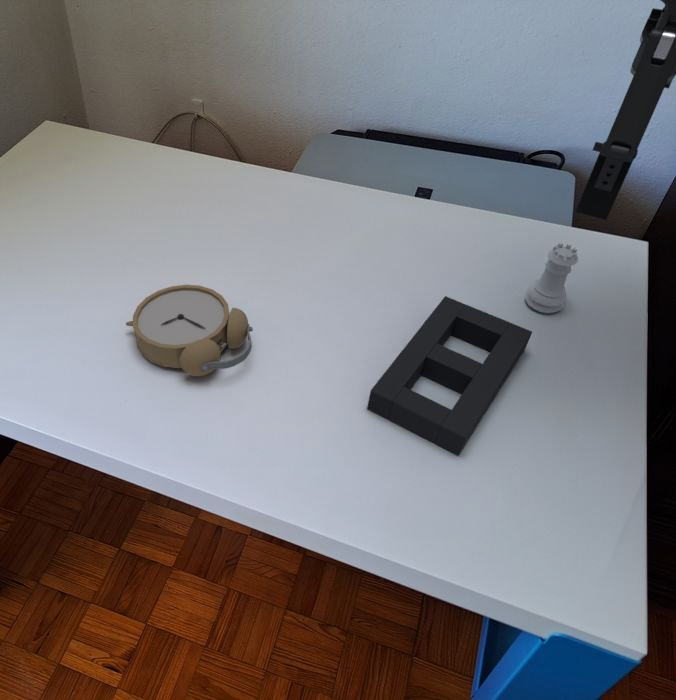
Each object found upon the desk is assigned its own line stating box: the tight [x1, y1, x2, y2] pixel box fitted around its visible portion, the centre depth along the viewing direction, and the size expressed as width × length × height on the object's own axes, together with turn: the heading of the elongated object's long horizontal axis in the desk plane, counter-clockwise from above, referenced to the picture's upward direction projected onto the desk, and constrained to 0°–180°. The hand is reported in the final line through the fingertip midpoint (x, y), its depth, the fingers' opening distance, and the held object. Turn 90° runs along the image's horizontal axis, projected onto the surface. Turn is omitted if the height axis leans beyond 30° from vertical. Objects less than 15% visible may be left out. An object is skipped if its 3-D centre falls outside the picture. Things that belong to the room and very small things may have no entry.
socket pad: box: [366, 295, 533, 456], centre depth 74 cm, size 10×18×3 cm, turn 142°
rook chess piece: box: [524, 242, 579, 314], centre depth 80 cm, size 4×4×8 cm
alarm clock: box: [125, 284, 254, 377], centre depth 79 cm, size 11×5×15 cm
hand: (605, 179), depth 68 cm, fingers open, 13 cm apart
